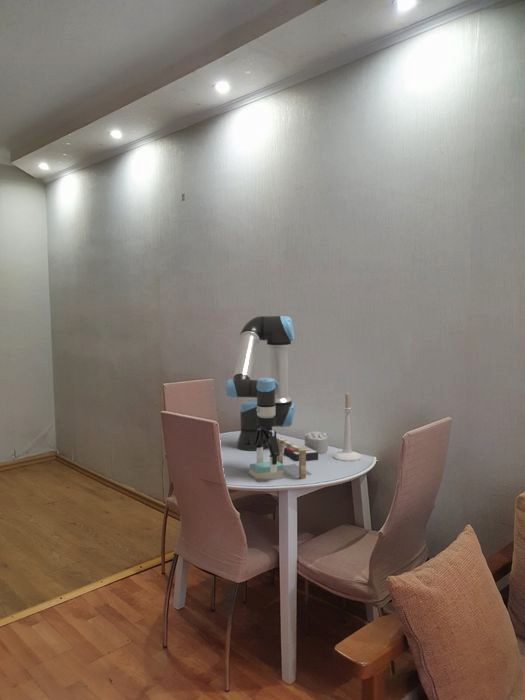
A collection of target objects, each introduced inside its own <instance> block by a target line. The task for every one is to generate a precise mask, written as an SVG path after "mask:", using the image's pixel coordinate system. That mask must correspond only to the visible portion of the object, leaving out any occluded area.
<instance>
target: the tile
mask: <svg viewBox="0 0 525 700" xmlns="http://www.w3.org/2000/svg"><path fill="white" fill-rule="evenodd" d="M283 465H284V463H283V464H281V463H279V462H278V461H277V472H272V473H271V472H270V461H263V463H257V462H256V463H250V464H249V470H250V474H251V475H252V476H254V477H255V478H256V479H258V478H264V477H271V476H278V475H284V466H283Z"/></svg>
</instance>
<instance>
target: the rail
mask: <svg viewBox="0 0 525 700" xmlns="http://www.w3.org/2000/svg"><path fill="white" fill-rule="evenodd" d="M277 442H278V447H279V452H280V455H279V456H277V461H278V462H279V463H281V464H283V465H284V447H288V448H290V449H292V450H294V451H296V452H297V453H299V461H298V466H299V476H298V478H299V479H300V480H304V479H306V478H307V475H306V471H307V463H306V462H307V461H306V450H304V449H302V448H300V447H298V446H299V445H296V444H294V443H292V442H290V441H287V440H286V439H283V438H282V437H277ZM283 446H284V447H283Z"/></svg>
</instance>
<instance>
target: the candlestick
mask: <svg viewBox="0 0 525 700" xmlns="http://www.w3.org/2000/svg"><path fill="white" fill-rule="evenodd" d="M344 394H345V395H344V396H345V397H344V398H345V400H344V401H345V403H344V404H345V405H344V406H345V407H343V409H344V413H345V415H344V417H345V418H344V431H343V432H344V433H343V434H344V436H343V449H342V451H338V452H335V453H334V454H333V456H332V458H333V459H334V460H337V461H339V460H340V462H347V461H351V462H357V461H356V460H358V461H360V460H359V459H361V458H362V455H361V454H359V453H358V452H356V451H352V439H351V438H352V437H351V436H352V435H351V417H350V413H351V409H352V407H351V404H350V403H351V402H350V401H351V397H350V396H351V393H349V392H347V393H344ZM362 459H363V458H362ZM362 459H361V460H362Z"/></svg>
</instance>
